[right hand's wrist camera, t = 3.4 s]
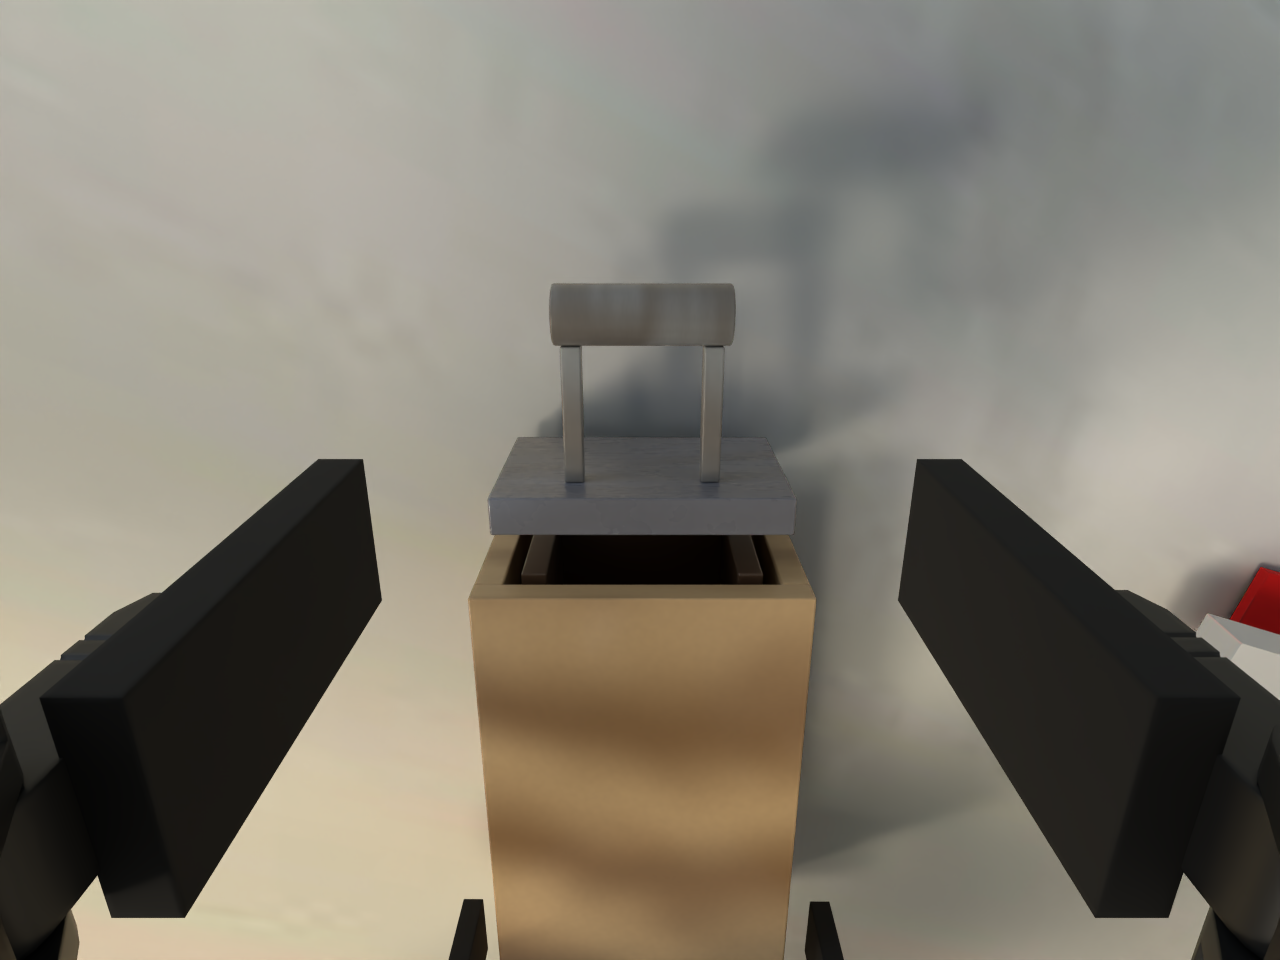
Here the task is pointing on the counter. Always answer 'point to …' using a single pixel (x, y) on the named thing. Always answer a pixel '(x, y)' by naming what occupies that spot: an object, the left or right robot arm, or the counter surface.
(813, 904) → the left robot arm
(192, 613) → the right robot arm
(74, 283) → the counter surface
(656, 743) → the wooden block
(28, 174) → the counter surface
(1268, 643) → the toy
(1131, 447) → the counter surface
